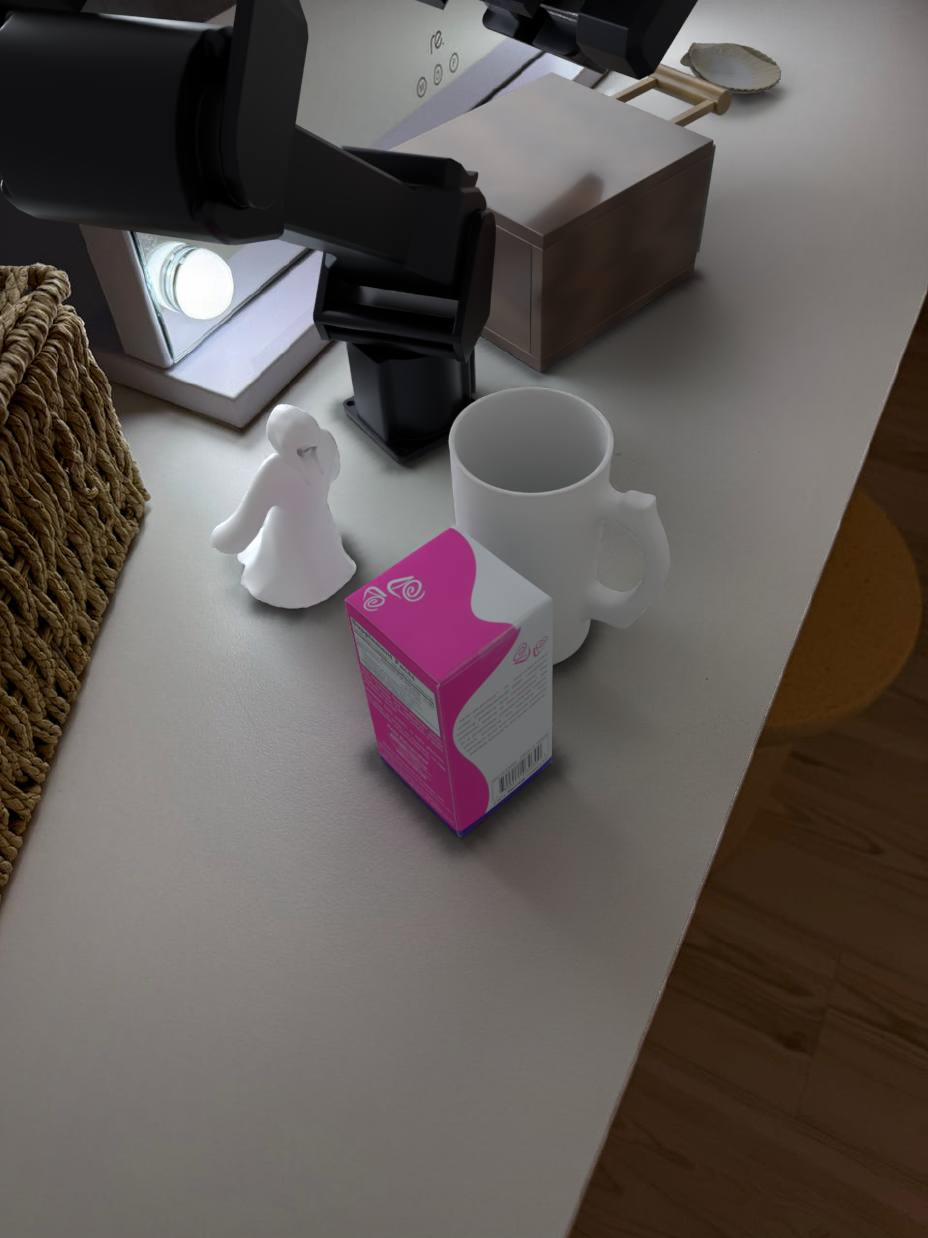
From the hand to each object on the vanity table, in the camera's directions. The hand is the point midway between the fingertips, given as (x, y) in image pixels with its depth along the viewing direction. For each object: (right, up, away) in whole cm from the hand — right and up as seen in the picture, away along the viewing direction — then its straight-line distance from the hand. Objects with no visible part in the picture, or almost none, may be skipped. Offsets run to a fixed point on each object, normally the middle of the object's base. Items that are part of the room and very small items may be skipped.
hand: (604, 65), depth 62 cm
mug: (-4, -34, -11) cm, 36 cm away
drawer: (0, -7, +10) cm, 12 cm away
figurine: (-17, -31, -7) cm, 36 cm away
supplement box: (-8, -40, -15) cm, 43 cm away
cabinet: (-3, -10, +8) cm, 13 cm away
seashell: (+14, +12, +25) cm, 31 cm away
